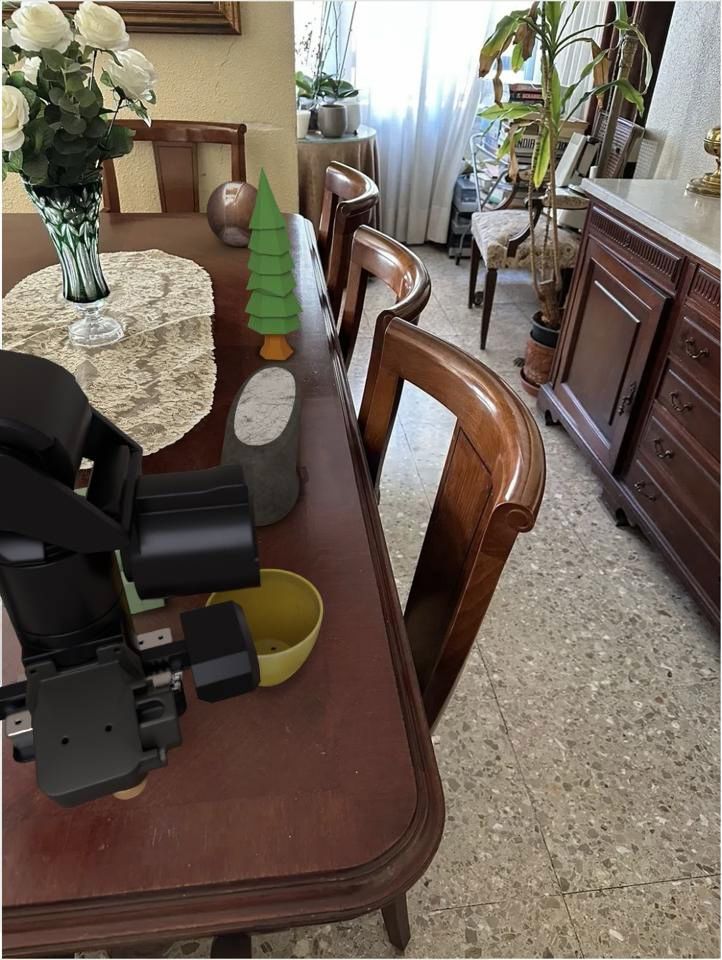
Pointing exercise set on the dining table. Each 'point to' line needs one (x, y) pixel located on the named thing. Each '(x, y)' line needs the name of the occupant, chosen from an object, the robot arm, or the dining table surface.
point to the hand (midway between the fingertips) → (121, 761)
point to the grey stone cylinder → (267, 439)
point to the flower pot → (279, 621)
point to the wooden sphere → (232, 212)
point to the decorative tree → (271, 276)
